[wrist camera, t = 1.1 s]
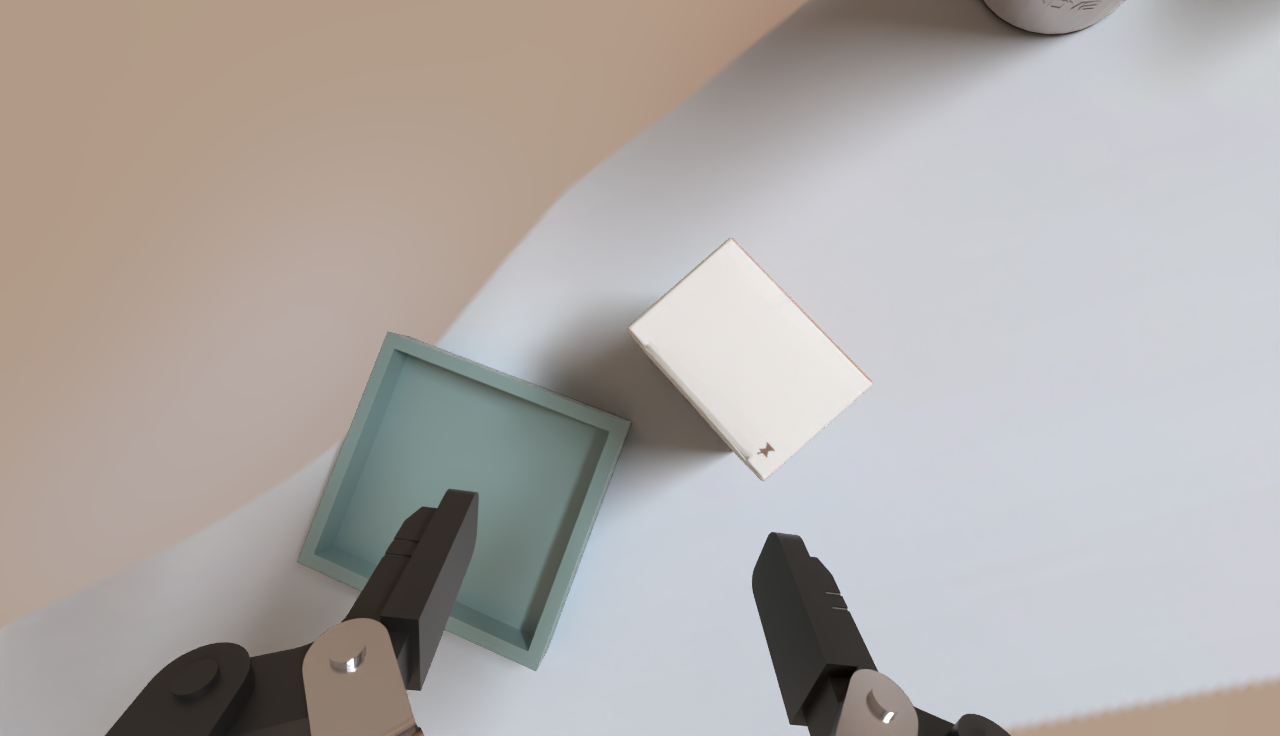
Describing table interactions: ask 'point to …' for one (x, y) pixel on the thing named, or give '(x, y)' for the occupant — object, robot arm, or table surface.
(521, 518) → the tray
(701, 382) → the small box
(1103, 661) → the table surface
